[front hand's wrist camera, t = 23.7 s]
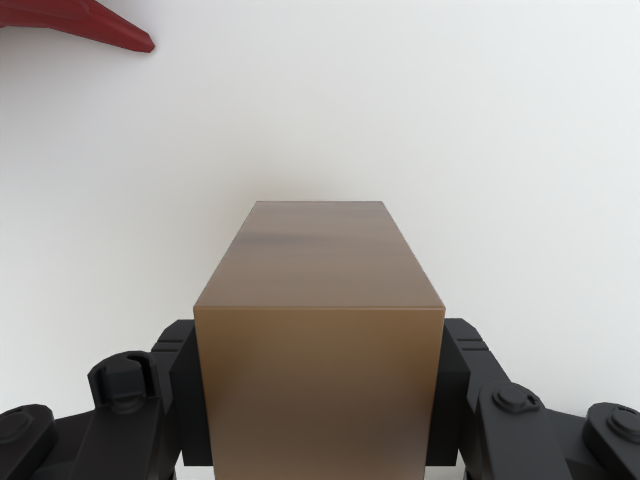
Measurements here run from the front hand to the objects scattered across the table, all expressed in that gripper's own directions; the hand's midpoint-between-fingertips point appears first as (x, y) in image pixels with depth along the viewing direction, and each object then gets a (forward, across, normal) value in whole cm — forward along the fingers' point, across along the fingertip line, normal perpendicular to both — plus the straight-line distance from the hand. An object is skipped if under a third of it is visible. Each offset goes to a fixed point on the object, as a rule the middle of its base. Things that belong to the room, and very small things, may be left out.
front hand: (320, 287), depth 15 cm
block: (+1, 0, 0) cm, 1 cm away
